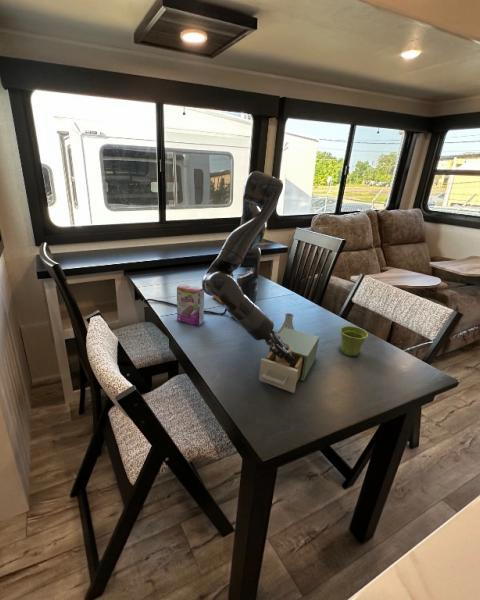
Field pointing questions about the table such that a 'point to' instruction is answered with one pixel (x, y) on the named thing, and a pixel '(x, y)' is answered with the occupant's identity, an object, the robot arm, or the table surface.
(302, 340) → the cabinet
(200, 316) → the candy bar box
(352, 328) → the plant pot
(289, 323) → the flask
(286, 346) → the pepper mill
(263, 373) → the drawer
